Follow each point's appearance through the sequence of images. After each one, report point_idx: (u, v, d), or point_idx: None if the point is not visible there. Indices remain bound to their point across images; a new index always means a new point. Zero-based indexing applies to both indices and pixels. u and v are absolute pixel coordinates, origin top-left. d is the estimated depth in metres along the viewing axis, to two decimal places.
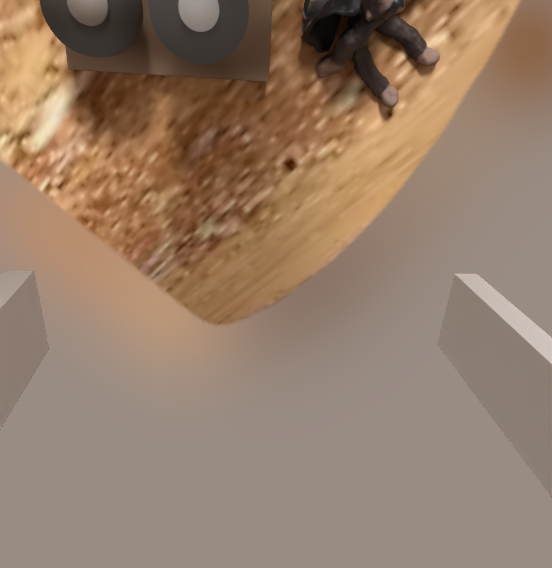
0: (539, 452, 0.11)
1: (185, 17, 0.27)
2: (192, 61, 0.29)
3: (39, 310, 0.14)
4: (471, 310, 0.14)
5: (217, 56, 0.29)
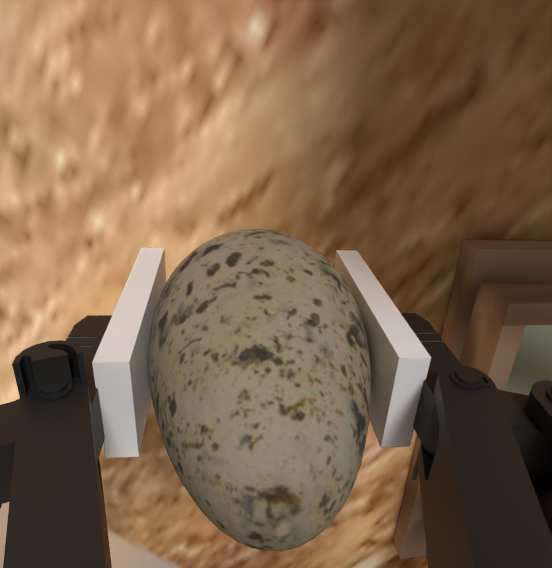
0: (373, 401, 0.12)
1: None
2: None
3: (164, 283, 0.16)
4: None
5: None
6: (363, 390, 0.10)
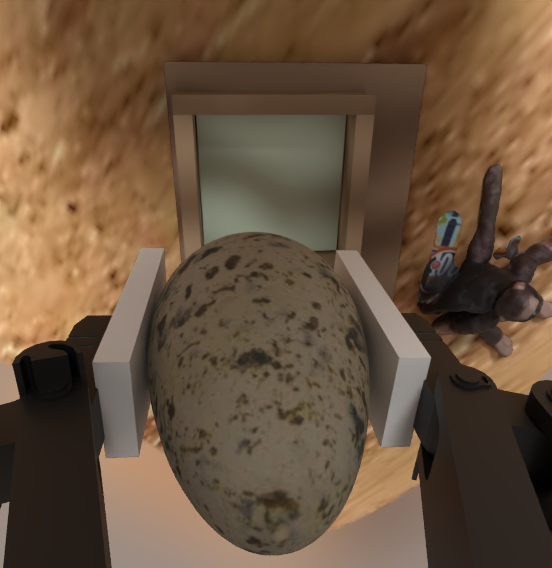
0: (372, 401, 0.12)
1: None
2: None
3: (164, 283, 0.16)
4: (343, 282, 0.15)
5: None
6: (362, 394, 0.10)
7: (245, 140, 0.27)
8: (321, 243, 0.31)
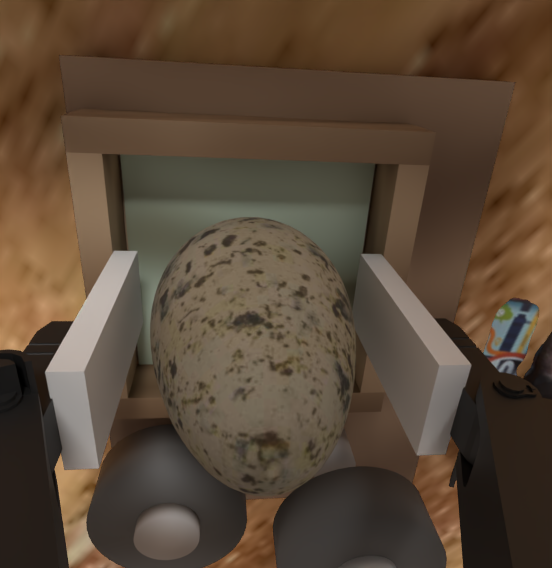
0: (406, 409, 0.12)
1: None
2: None
3: (138, 287, 0.16)
4: (369, 286, 0.15)
5: None
6: (347, 356, 0.11)
7: (205, 194, 0.16)
8: None
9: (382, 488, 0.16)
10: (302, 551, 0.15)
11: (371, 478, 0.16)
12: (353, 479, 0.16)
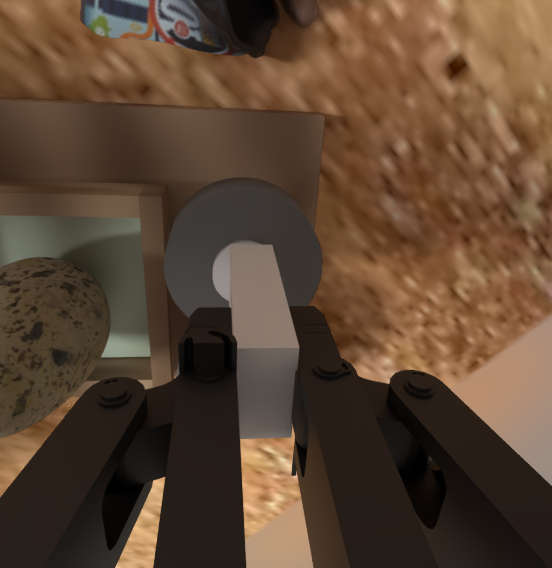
0: None
1: None
2: (317, 280, 0.18)
3: None
4: None
5: (311, 243, 0.17)
6: None
7: None
8: (135, 226, 0.23)
9: None
10: None
11: None
12: None
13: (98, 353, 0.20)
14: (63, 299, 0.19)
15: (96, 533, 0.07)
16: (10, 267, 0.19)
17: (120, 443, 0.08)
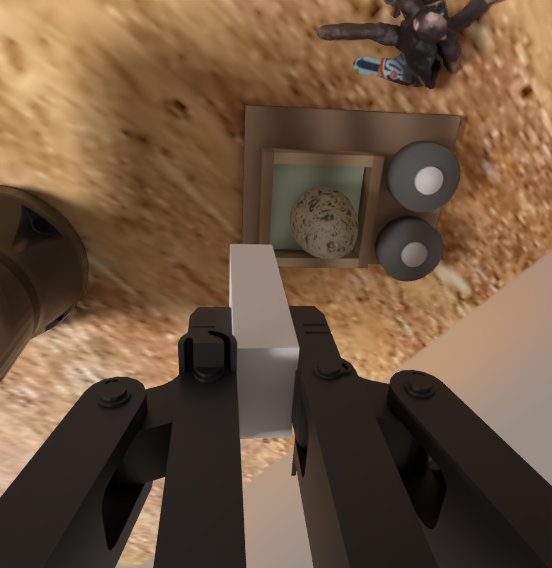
0: None
1: (433, 190, 0.41)
2: (456, 185, 0.41)
3: None
4: None
5: (456, 168, 0.41)
6: (321, 211, 0.37)
7: (285, 222, 0.45)
8: (358, 174, 0.44)
9: (391, 168, 0.41)
10: (404, 204, 0.42)
11: (389, 170, 0.42)
12: (388, 178, 0.42)
13: None
14: (349, 202, 0.40)
15: (96, 533, 0.07)
16: (318, 189, 0.41)
17: (120, 443, 0.08)
